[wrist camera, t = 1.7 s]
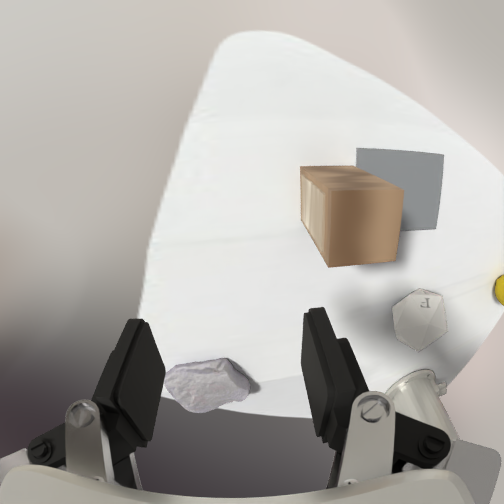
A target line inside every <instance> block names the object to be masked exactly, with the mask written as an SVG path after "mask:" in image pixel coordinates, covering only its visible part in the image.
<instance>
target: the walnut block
mask: <svg viewBox="0 0 504 504" xmlns="http://www.w3.org/2000/svg"><path fill="white" fill-rule="evenodd" d="M300 181H301V221H302V222H303V224H304V226H305V228H306V229H307V231H308V233H309V234H310V236H311V238H312V240H313V241H314V243H315V245H316V246H317V248H318V250H319V252H320V254H321V255H322V257H323V259H324V261H325V262H326V264H327V266H328V268H329V267H340V266H350V265H361V264H371V263H380V262H390V261H395V260H396V254H397V248H398V241H399V234H400V226H401V218H402V209H403V199H404V190H403V189H401V188H399V187H397V186H395V185H393V184H391V183H389V182H387V181H385V180H383V179H381V178H379V177H377V176H375V175H372V174H370V173H368V172H366V171H364V170H361V169H359V168H357V167H355V166H300Z"/></svg>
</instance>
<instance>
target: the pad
mask: <svg viewBox="0 0 504 504" xmlns="http://www.w3.org/2000/svg"><path fill="white" fill-rule="evenodd" d="M443 162H444V155H443V154H434V153H425V152H414V151H402V150H388V149H368V148H357V168H359V169H361V170H364V171H366V172H368V173H370V174H372V175H375V176H377V177H379V178H381V179H383V180H385V181H387V182H389V183H391V184H393V185H395V186H397V187H399V188H401V189H403V190H404V199H403V209H402V218H401V226H400V231H407V230H424V229H436V225H437V219H438V212H439V205H440V196H441V187H442V176H443Z"/></svg>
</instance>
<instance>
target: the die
mask: <svg viewBox="0 0 504 504" xmlns="http://www.w3.org/2000/svg"><path fill="white" fill-rule="evenodd" d="M392 312H393V321H394V330H395V333H396V336H397V340H399V341H401V342H402V343H404V344H406V345H407V346H409V347H411V348H412V349H414V350H416V351H417V352H420V351H421V350H423V349H424V348H425V347H427V346H428V345H430V344H431V343H433V342H434V341H435V340H437V339H438V338H440V337H441V336H442V335H444V334H445V333H446V332H448V329H447V321H446V314H445V308H444V301H443V296H441V295H438V294H435V293H432V292H429V291H426V290H423V289H420V288H419V289H417V290H416V291H414V292H412V293H411V294H409V295H408V296H407V297H405V298H404V299H402V300H401V301H400V302H398V303H397V304H396V305H394V306H393V307H392Z"/></svg>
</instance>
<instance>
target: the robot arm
mask: <svg viewBox="0 0 504 504" xmlns="http://www.w3.org/2000/svg"><path fill="white" fill-rule="evenodd" d="M301 367H302V372H303V376H304V381H305V386H306V390H307V395H308V399H309V404H310V409H311V413H312V418H313V423H314V428H315V432H316V436H317V437H320V436H321V437H322V441H323V443H326V442H328V444H329V447H330V448H332V449H334V450H335V454H334V459H333V463H332V467H331V472H330V476H329V480H328V484H327V487H326V489H325V490H320V491H314V492H307V493H301V494H293V495H284V496H274V497H260V498H259V497H258V498H202V497H188V496H177V495H169V494H161V493H154V492H148V491H143V490H142V486H141V483H140V479H139V475H138V470H137V466H136V462H135V457H134V452H135V451H136V447H137V446H139V447H147V442H148V441H151V439H152V436H153V430H154V425H155V421H156V416H157V410H158V406H159V402H160V397H161V392H162V388H163V383H164V379H165V374H166V371H165V366H164V364H163V361H162V359H161V356H160V353H159V351H158V348H157V345H156V343H155V340H154V337H153V335H152V332H151V329H150V326H149V324H148V322H145V321H144V320H143V319H129V320H128V321H127V323H126V325H125V328H124V330H123V332H122V334H121V336H120V338H119V341H118V343H117V345H116V347H115V350H114V351H112V353H111V354H110V356H109V359H108V361H107V363H106V366H105V368H104V371H103V373H102V375H101V377H100V380H99V382H98V385H97V387H96V390H95V393H94V395H93V397H92V400H91V401H90V400H80V401H77V402H75V403H74V404H72V405H71V406H70V407H69V408H68V411H67V412H66V417H65V423H63V424H61V425H59V426H57V427H56V428H54V429H52V430H50V431H48V432H46V433H44V434H42V435H40V436H38V437H36V438H35V439H34V440H32V441H31V443H30V444H29V446H28V450H26V449H25V448H24V449H22V450H19V451H17V452H15V453H13V454H11V455H8V456H7V457H4V458H1V459H0V504H489V503H490V500H491V497H492V494H493V491H494V488H495V485H496V481H497V478H498V474H499V471H500V467H501V457H500V454H499V453H498V452H497V451H496V450H494V449H491V448H487V447H483V446H480V445H476V444H473V443H469V442H466V441H463V440H460V438H459V436H458V434H457V432H456V430H455V428H454V426H453V424H452V422H451V420H450V418H449V416H448V414H447V412H446V410H445V408H444V406H443V404H442V403H441V401H440V399H439V397H438V396H442V395H444V394H446V391H447V389H446V383H445V382H443V383H440V384H438V385H437V384H436V383H435V375H434V373H433V372H432V371H431V370H419V371H416V372H413V373H411V374H409V375H407V376H405V377H404V378H402V379H400V380H399V381H398V382H396V383H395V384H394V385H393V386H392V387H391V388H390V389H389V390H388V391H387V392H386V393H385V394H384V393H382V392H377V391H369V389H368V387H367V384H366V382H365V379H364V377H363V375H362V372H361V370H360V367H359V365H358V362H357V360H356V358H355V355H354V353H353V350H352V348H351V346H350V343H349V341H348V339H347V338H340V339H337V338H336V336H335V333H334V331H333V328H332V326H331V323H330V321H329V318H328V316H327V313H326V311H325V308H324V307H320V308H311V309H309V312H308V313H304V319H303V337H302V353H301Z"/></svg>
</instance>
